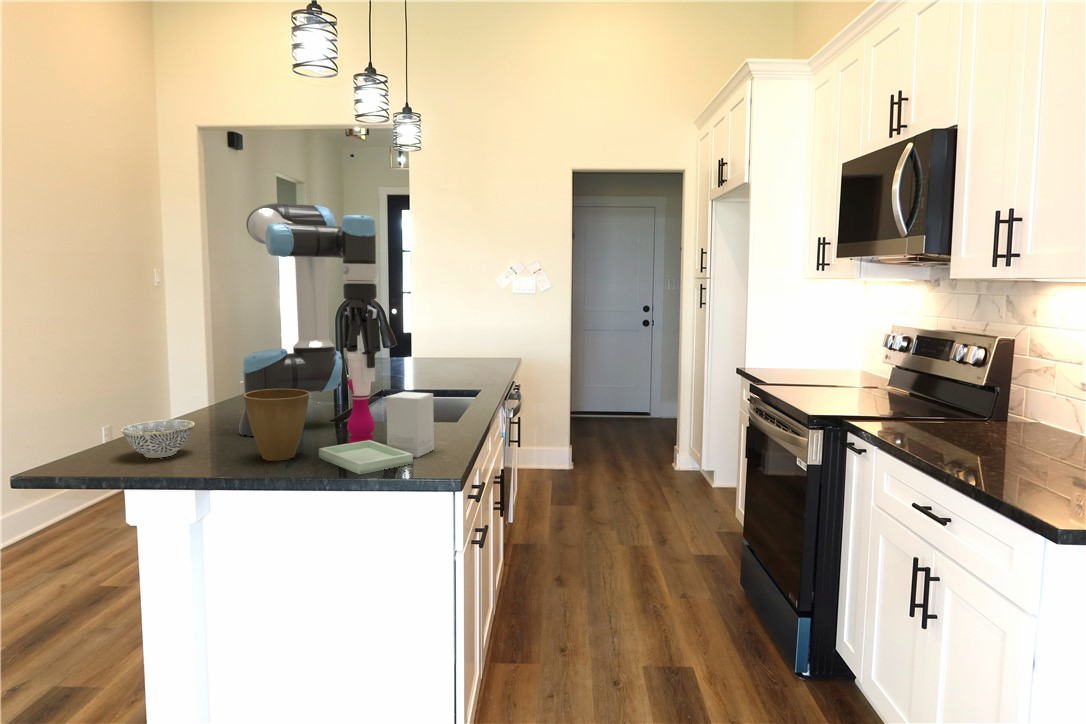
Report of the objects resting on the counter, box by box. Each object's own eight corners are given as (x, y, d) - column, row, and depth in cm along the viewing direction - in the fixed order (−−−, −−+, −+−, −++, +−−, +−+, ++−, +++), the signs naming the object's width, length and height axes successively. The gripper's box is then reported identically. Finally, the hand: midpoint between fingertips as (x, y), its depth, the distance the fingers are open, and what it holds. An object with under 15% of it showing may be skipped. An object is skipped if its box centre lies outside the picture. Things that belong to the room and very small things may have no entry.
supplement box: (435, 450, 185) (434, 392, 183) (418, 458, 177) (417, 398, 175) (404, 447, 188) (403, 390, 186) (386, 455, 179) (385, 395, 178)
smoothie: (350, 392, 174) (349, 334, 172) (377, 392, 175) (376, 334, 173) (345, 396, 168) (344, 336, 166) (373, 396, 168) (372, 336, 167)
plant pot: (232, 462, 171) (229, 396, 169) (271, 448, 185) (269, 387, 183) (287, 467, 167) (284, 399, 165) (322, 452, 181) (321, 390, 179)
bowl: (120, 466, 166) (118, 434, 165) (124, 452, 180) (122, 422, 179) (197, 459, 174) (195, 428, 173) (194, 445, 188) (193, 417, 187)
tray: (319, 458, 176) (318, 448, 176) (369, 449, 185) (369, 440, 185) (359, 474, 161) (359, 464, 161) (412, 463, 171) (412, 454, 171)
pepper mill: (368, 446, 188) (366, 371, 186) (342, 445, 190) (340, 370, 187) (379, 440, 195) (378, 367, 193) (355, 439, 197) (353, 366, 194)
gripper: (326, 282, 173) (328, 377, 175) (366, 282, 159) (367, 386, 161) (354, 282, 178) (356, 374, 180) (395, 283, 164) (397, 383, 166)
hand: (361, 379), depth 171 cm, fingers closed on smoothie, 6 cm apart
